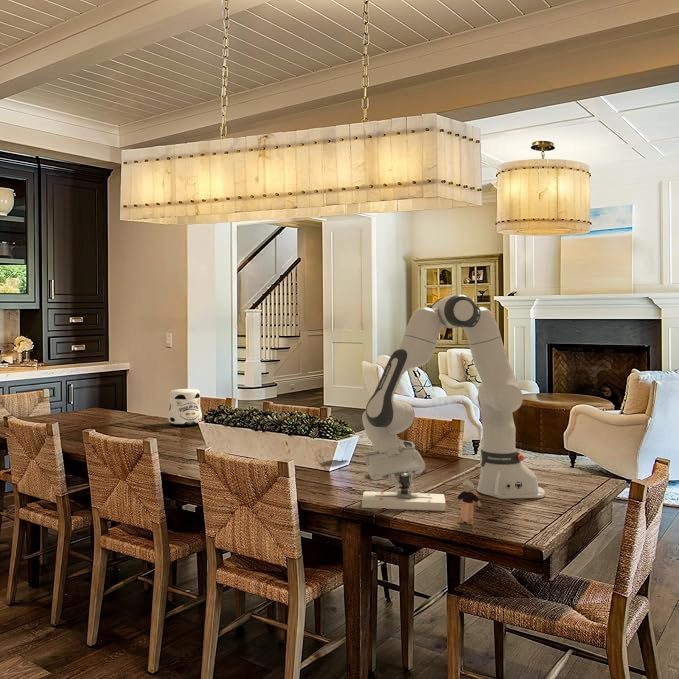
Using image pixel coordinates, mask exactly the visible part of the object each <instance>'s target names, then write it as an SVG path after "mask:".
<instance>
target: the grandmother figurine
mask: <svg viewBox="0 0 679 679" xmlns="http://www.w3.org/2000/svg"><path fill="white" fill-rule="evenodd" d="M462 486H463V491H462V492H460V493H459V494H458V496H457V497H456V500H455V504H457V505H458V504H459V503H460V502H461V507H460V518H459V519H458V521H457V522H458V523H459V524H464V522H465V523H467V525H469V524H472V525H474V514H475V512H474V511H475V509H474V502H475V503H476V505H477V507H481V506H482V503H481V501H480V500H481V499H480V498H479V497H478V496H477V494H475V493H474V492H472V491H473V489H475V485H474V483H473V482H472V481H471V480H470V479H465V480H464V481H463V482H462ZM461 500H462V501H461Z"/></svg>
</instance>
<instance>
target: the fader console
mask: <svg viewBox="0 0 679 679" xmlns="http://www.w3.org/2000/svg"><path fill="white" fill-rule="evenodd" d="M362 493H363V495H362V498H361V508H362V509H364V508H365V509H382V508H386V509H387V510H390V509H391V510H414V511H416V510H417V511H433V512H434V511H436V512H437V511H440V512H443V511H444V512H446V498H445V494H443V493H428V492H427V493H424V492H423V493H422V492H421V493H419V492H418V493H417V492H411V498H399V497H397V491H396V492H395V491H391V492H390V491H368V490H366V491H363V492H362Z"/></svg>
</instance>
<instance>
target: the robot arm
mask: <svg viewBox="0 0 679 679" xmlns="http://www.w3.org/2000/svg"><path fill="white" fill-rule="evenodd" d="M457 328H461V329H462V330H463V332H464V333H465V335H466V338H467V342H468V347H469V349H470V354H471V356H472V360H473V365H474V368H475V369H476V371H477V373H478V375H479V378H480V380H481V382H480V383H479V386H478V389H477V390H478V392H477V393H478V396H479V407H480V417H481V423H482V424H481V425H482V426H481V427H482V435H481V436H482V442H481V444H482V446H481V447H482V448H481V450H480V457H479V458H480V466H481V467H480V474H479V479H478V484H477V487H476V492H479V493H480V494H482V495H487V496H491V497H493V498H497V499H502V500H504V499H542V498H544V497H545V496H546V492H545V490H544V489H543V488H542V487H540V486H539V483H538V478H537V476H536V474H535V473H534V472H533V471H532V470H531V469H530V468H528V467H527V466H526V465H525V464H524V463H522V462H523V461H524V460H525V456H524V455H523V454H522V453H520V452H519V451H517V450H516V439H517V438H516V432H517V431H516V430H517V428H516V425H515V422H514V421H515V420H514V415H513V413H515V412H516V411H517V410H519V409H520V407H521V406H522V404H523V402H524V396H523V395H524V394H523V392H522V390H521V388H520V385H519V383H518V381H517V379H516V375H515V373H514V371H513V369H512V367H511V364H510V363H509V360H508V356H507V353H506V349H505V347H504V346H505V345H504V341H503V340H502V335H501V331H500V328H499V326H498V323H497V321H496V319H495V317H494V315H493V313H492V311H491V310H490V309H488V308H486V307H479V306H478V305H477V304H476V303H475V302H474V300H472V299H471V298H470V297H469V296H467V295H464V294H450V295H446V296H444V297H441V298H439V299H437V300H436V301H434V303H432V304H431V306H430V307H427V306H424V307H419V308H418V307H417V308H416V309H415V310H414V311H413V313H412V315H411V316H410V318H409V321H408V323H407V325H406V328H405V331H404V335H403V337H402V340H401V342H400V344H399V345H398V347H397V349H396V350H395V351H394V352H392V354H391V355H390V357H389V359H388V361H387V364H386V366H385V367H384V370H383V372H382V375H381V377H380V379H379V381H378V384H377V386H376V388H375V390H374V392H373V394H372V395H371V397H370V398H369V400H368V402H367V404H366V406H365V410H364V412H363V413H362V419H361V420H362V425H363V429H364V431H365V433H366V436H367V438H368V440H369V441H370V442H371V444H372V445H371V446H372V449H373V452H366V453H365V454H364V455H363V461H364V463H365V464H366V470H367V472H368V476H369V477H370V479H372V480H373V481H375V480H376V481H378V480H384V479H388V481H389V482H390V483H392V485H394V487H395V489H396V490H399V489H401V487H402V484H401V482H400V481H398V480H397V478H398V477H399V475H400V474H401V473H408V475H410V476H409V488H412V487H413V486H414V485H415V483H414V481H413V476H414V475H418V474H419V475H420V474H422V473H423V472H424V470H425V469H426V463H425V461H424V459H423V457H422V455H421V454H420V452H419V450H417V449H415V446H416V445H415V443H414V442H412V441H409V440H404V439H400V438H398V437H397V435H399V434H401V433H403V432H405V431H407V430H408V429H409V428H411V427H412V425H413V423H414V421H415V418H416V417H415V411H414V407H413V406H412V405H411V404H410V403H408V402H405V401H402V400H398V399H394V396H395V393H396V391H397V388H398V385H399V384H400V382H401V378H402V377H403V375H404V374H405V373H407V372H408V371H409V370H412V369H415V368H419V367H422V366H424V365H427V364H428V363H429V362H430V360H431V359H432V357H433V355H434V353H435V349H436V346H437V342H438V338H439V335H440V334H441V332H442V330H443V329H457Z"/></svg>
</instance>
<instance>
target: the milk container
mask: <svg viewBox="0 0 679 679" xmlns="http://www.w3.org/2000/svg"><path fill="white" fill-rule="evenodd" d="M202 418H203V414H202V409H201V391H200V390H199V389H196V388H178V389H171V390H170V391H169V410H168V413H167V419H168V423H169V424H171V425H173V426H180V427H186V426H196V425H198V424H199V423H198V422H199V421H202Z"/></svg>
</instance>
